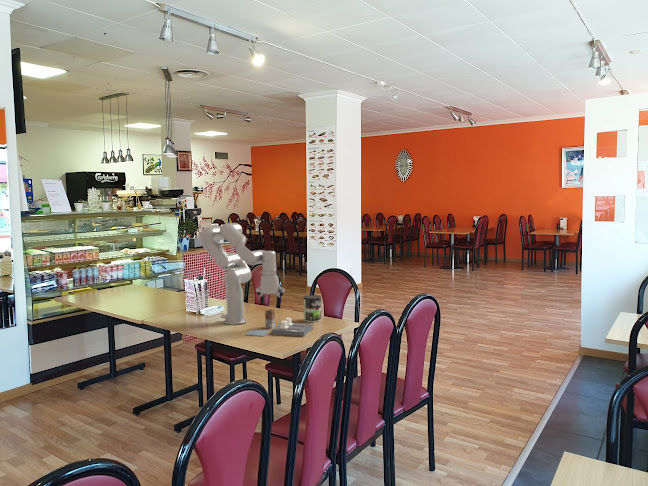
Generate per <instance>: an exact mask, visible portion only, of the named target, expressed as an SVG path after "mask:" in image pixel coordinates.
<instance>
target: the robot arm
mask: <svg viewBox="0 0 648 486" xmlns="http://www.w3.org/2000/svg"><path fill="white" fill-rule="evenodd" d="M199 233H200V235H199V241H200V244H201V246H202V248H203V249H204V250H205V251H206V253H208V255H209V256H210V258H211V259H212V260H213V263H215V265H216V266H217V267H218V268H219V270H220V271H225V272H224V274H223V275H224V277H223V279H224V283H225V290H226V291H225V293H226V314H222V313H221V316H220V317H221V319H225V320H224V324H226V325H235V326H237V325H243V324H245V323H247V319H246V318H245V317H244V315H245V314H244V313H245V312H244V291H243V288H242V285H241V284H245V283H247V282H249V281H250V280H251V279H252V274H253V273H252V271H251V269H250V267H249V266H248V265H250V266H255V265H260V264H262V270H261V271H260V274H261V276H260V283H259V284H260V286H258V287H257V288H256V287H255V291H256V294H257V295H258V297H259V299H260V300H259V301H260V305H264V304H265V296H264V295H276V296H277V298H276V299H277V300H276V301H277V305H281V304H282V296H284V294H285V292H286V288H284V287H282V286H280V281H279V276H278V274H277V253H276V251H274V250H264V249H263V250H262V249H258V250H253V251H252V250H250V249H249V248H247V246H246V245H245V244H246V243H247V237H246V236H245V235H244V234H243V228H242V225H240V224H239V223H237V222H231V223H229V222H227V223H223V224H222V225H218V226H217V225H216V226H215V225H213V226H207V227H205V228H203V229H202V230H201V231H200V232H199ZM222 240H223V241H224V240H226V241H227V242H228V243H229V244H231V245H232V246H233V247H234V248H235V252H226V250H225V249H224V248H223V246H222V245H221V244H219V243H218V242H217V241H222ZM280 291H281V292H280Z"/></svg>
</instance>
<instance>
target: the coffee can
mask: <svg viewBox="0 0 648 486" xmlns="http://www.w3.org/2000/svg"><path fill="white" fill-rule="evenodd" d="M303 321H304V322H306V323H317V322H321V321H322V296H321V295H317V294H308V295H304V296H303Z"/></svg>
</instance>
